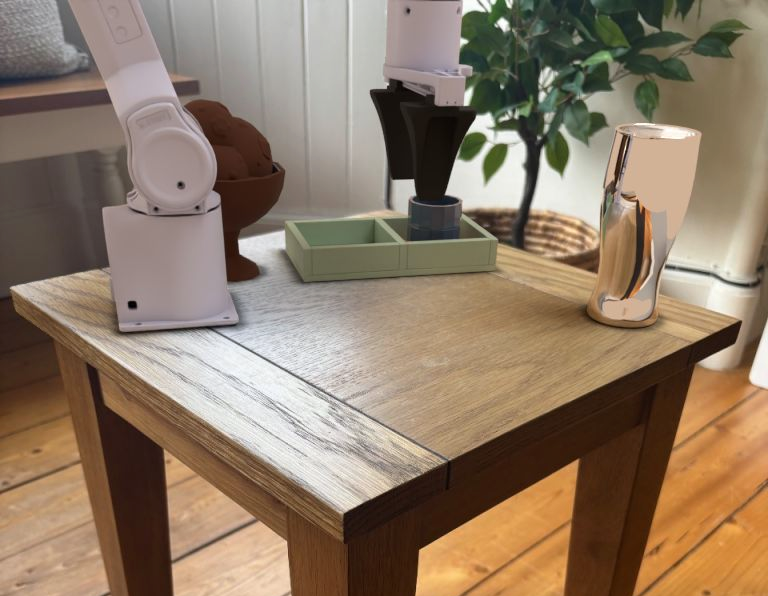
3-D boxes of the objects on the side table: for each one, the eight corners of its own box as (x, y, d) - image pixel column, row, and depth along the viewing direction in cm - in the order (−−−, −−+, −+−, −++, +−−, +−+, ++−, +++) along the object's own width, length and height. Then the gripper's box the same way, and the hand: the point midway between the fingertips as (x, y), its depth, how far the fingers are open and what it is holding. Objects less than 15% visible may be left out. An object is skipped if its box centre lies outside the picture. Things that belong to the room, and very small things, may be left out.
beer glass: (666, 333, 68) (711, 140, 60) (582, 325, 69) (615, 134, 61) (657, 305, 74) (697, 125, 66) (580, 298, 75) (610, 120, 67)
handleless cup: (416, 259, 81) (418, 207, 78) (400, 244, 85) (402, 194, 82) (465, 256, 82) (470, 205, 79) (448, 241, 86) (451, 192, 84)
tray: (304, 282, 77) (303, 249, 75) (285, 251, 85) (284, 220, 83) (495, 270, 81) (498, 239, 80) (460, 242, 89) (462, 213, 88)
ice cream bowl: (232, 299, 72) (217, 113, 64) (149, 273, 78) (126, 98, 69) (311, 272, 79) (308, 101, 71) (231, 249, 85) (218, 88, 76)
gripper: (512, 5, 56) (492, 208, 64) (443, -4, 68) (433, 169, 75) (415, 2, 55) (406, 211, 62) (362, -6, 66) (359, 171, 74)
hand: (416, 189), depth 69 cm, fingers open, 7 cm apart
